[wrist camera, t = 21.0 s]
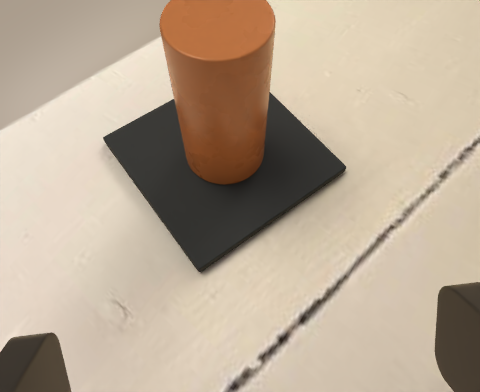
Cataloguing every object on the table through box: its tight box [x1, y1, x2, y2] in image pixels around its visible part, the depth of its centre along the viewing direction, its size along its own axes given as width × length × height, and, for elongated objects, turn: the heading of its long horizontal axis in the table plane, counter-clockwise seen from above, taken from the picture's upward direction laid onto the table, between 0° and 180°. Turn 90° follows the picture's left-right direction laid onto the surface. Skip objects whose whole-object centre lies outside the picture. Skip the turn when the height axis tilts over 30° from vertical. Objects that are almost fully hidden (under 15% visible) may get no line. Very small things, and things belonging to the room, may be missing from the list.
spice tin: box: [160, 0, 276, 185], centre depth 18 cm, size 4×4×8 cm
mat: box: [103, 92, 346, 272], centre depth 22 cm, size 9×9×1 cm
